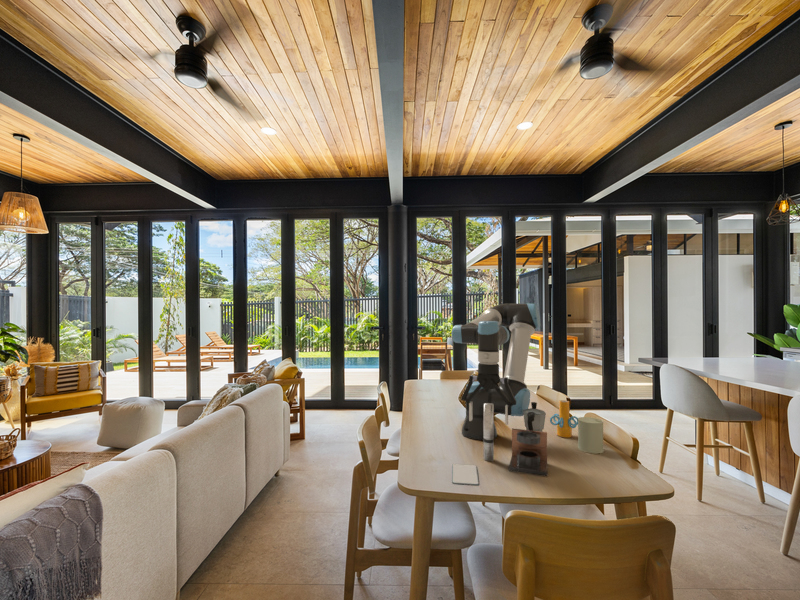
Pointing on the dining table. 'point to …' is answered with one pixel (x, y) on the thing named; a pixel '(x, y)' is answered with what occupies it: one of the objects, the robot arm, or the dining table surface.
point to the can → (590, 435)
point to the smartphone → (464, 474)
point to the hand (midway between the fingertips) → (488, 422)
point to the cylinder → (564, 420)
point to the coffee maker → (534, 418)
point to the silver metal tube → (488, 432)
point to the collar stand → (529, 452)
